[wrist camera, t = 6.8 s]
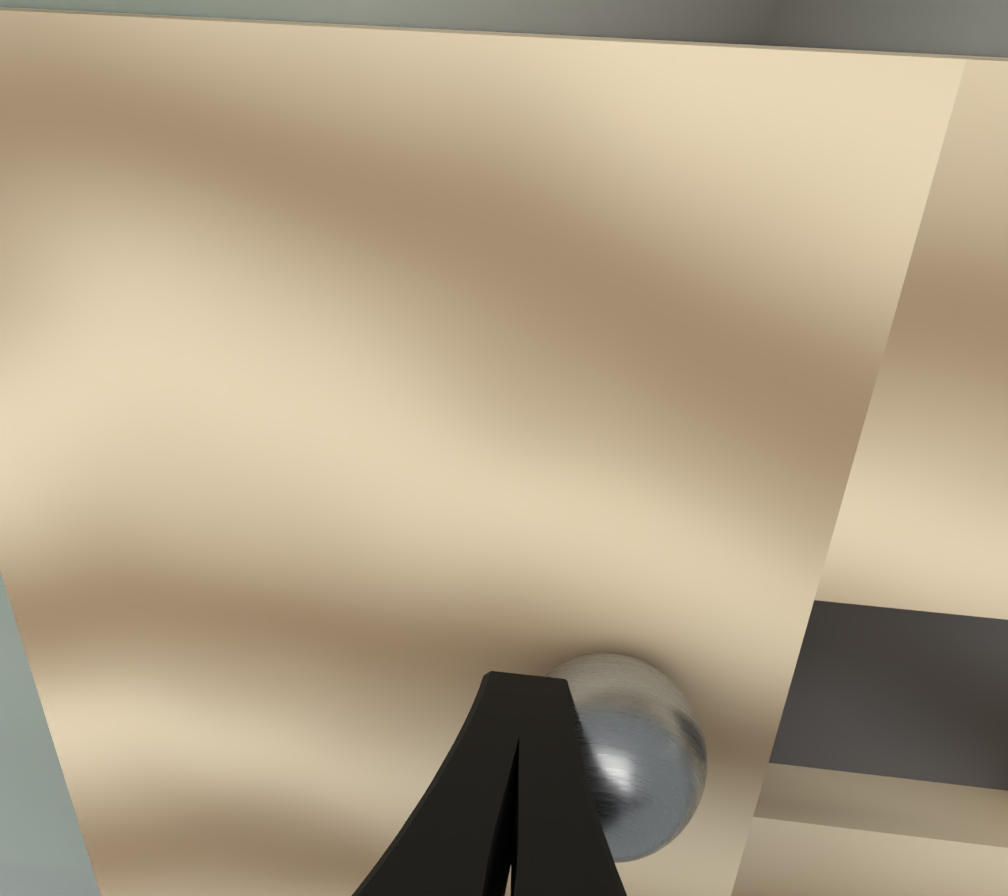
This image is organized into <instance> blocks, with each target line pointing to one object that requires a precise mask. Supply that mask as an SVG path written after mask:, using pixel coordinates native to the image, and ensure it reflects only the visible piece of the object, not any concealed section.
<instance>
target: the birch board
mask: <svg viewBox="0 0 1008 896" xmlns="http://www.w3.org/2000/svg"><path fill="white" fill-rule="evenodd" d="M0 571H1V575H2V578H3V581H4V584H5V587H6V591H7V594H8V597H9V600H10V604H11V607H12V610H13V613H14V616H15V620H16V623H17V626H18V629H19V633H20V636H21V639H22V642H23V646H24V649H25V652H26V655H27V658H28V662H29V665H30V668H31V671H32V675H33V678H34V681H35V684H36V687H37V691H38V694H39V697H40V700H41V704H42V707H43V710H44V713H45V716H46V720H47V723H48V726H49V729H50V733H51V736H52V739H53V742H54V745H55V749H56V752H57V755H58V758H59V762H60V765H61V768H62V771H63V774H64V778H65V781H66V784H67V787H68V791H69V794H70V797H71V800H72V804H73V807H74V810H75V813H76V816H77V820H78V823H79V826H80V829H81V833H82V836H83V839H84V842H85V845H86V849H87V852H88V855H89V858H90V862H91V865H92V868H93V871H94V874H95V878H96V881H97V884H98V887H99V891H100V894H101V896H352V894H353V893H354V892H355V891H356V889H357V888H358V887H359V885H360V884H361V883H362V882H363V880H364V879H365V878H366V876H367V875H368V874H369V872H370V871H371V870H372V869H373V867H374V866H375V865H376V863H377V862H378V861H379V859H380V858H381V857H382V855H383V854H384V852H385V851H386V850H387V848H388V847H389V845H390V844H391V843H392V841H393V840H394V838H395V837H396V836H397V834H398V833H399V831H400V830H401V828H402V827H403V825H404V824H405V822H406V820H407V819H408V817H409V816H410V814H411V813H412V811H413V810H414V808H415V807H416V805H417V804H418V802H419V801H420V799H421V798H422V796H423V795H424V793H425V791H426V790H427V788H428V787H429V785H430V783H431V782H432V780H433V778H434V777H435V775H436V773H437V771H438V770H439V768H440V766H441V764H442V763H443V761H444V759H445V757H446V756H447V754H448V752H449V750H450V749H451V747H452V745H453V743H454V741H455V739H456V737H457V735H458V733H459V732H460V730H461V728H462V726H463V724H464V722H465V720H466V718H467V715H468V713H469V711H470V709H471V707H472V704H473V702H474V700H475V697H476V695H477V692H478V690H479V687H480V684H481V681H482V678H483V675H485V674H487V673H488V672H490V671H498V672H507V673H516V674H525V675H534V676H544V675H545V674H546V673H547V672H549V671H550V670H551V669H553V668H554V667H556V666H558V665H560V664H561V663H563V662H565V661H567V660H570V659H572V658H575V657H579V656H583V655H587V654H593V653H615V654H621V655H626V656H630V657H633V658H636V659H638V660H641V661H643V662H646V663H648V664H650V665H652V666H653V667H655V668H656V669H658V670H659V671H661V672H662V673H663V674H665V675H666V676H667V677H669V678H670V679H671V680H672V681H673V682H674V683H675V684H676V685H677V686H678V687H679V688H680V690H681V691H682V692H683V693H684V695H685V696H686V697H687V699H688V700H689V702H690V703H691V705H692V706H693V708H694V710H695V713H696V715H697V717H698V719H699V721H700V724H701V727H702V730H703V734H704V738H705V742H706V749H707V777H706V782H705V787H704V792H703V795H702V798H701V801H700V804H699V806H698V808H697V810H696V811H695V813H694V815H693V817H692V819H691V821H690V822H689V823H688V825H687V826H686V827H685V829H684V830H683V831H682V832H681V833H680V834H679V835H678V836H677V837H676V838H675V839H674V840H673V841H672V842H671V843H669V844H668V845H667V846H665V847H664V848H662V849H661V850H659V851H657V852H656V853H654V854H652V855H649V856H647V857H644V858H641V859H638V860H635V861H630V862H623V863H615V865H616V868H617V871H618V873H619V876H620V878H621V881H622V884H623V886H624V889H625V891H626V894H627V896H1008V58H1002V57H982V56H963V55H943V54H923V53H903V52H883V51H864V50H844V49H824V48H804V47H784V46H764V45H745V44H725V43H705V42H685V41H665V40H646V39H626V38H606V37H586V36H566V35H546V34H527V33H507V32H487V31H467V30H447V29H428V28H408V27H388V26H368V25H348V24H328V23H309V22H289V21H269V20H249V19H229V18H210V17H190V16H170V15H150V14H130V13H110V12H91V11H71V10H51V9H31V8H11V7H0ZM510 894H511V867H510V872H509V877H508V882H507V887H506V892H505V896H510Z"/></svg>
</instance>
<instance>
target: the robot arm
mask: <svg viewBox="0 0 1008 896" xmlns="http://www.w3.org/2000/svg"><path fill="white" fill-rule="evenodd" d="M510 867H511V894H510V896H627V894H626V891H625V889H624V886H623V884H622V881H621V878H620V876H619V873H618V871H617V868H616V865H615V862H614V860H613V857H612V854H611V851H610V848H609V846H608V843H607V840H606V837H605V834H604V831H603V828H602V825H601V822H600V819H599V816H598V812H597V809H596V806H595V802H594V799H593V795H592V792H591V788H590V785H589V781H588V778H587V774H586V770H585V767H584V763H583V758H582V754H581V749H580V745H579V740H578V735H577V730H576V724H575V718H574V711H573V701H572V695H571V692H570V689H569V686H568V681H567V680H566V679H561V678H552V677H543V676H534V675H525V674H516V673H507V672H498V671H490V672H488V673H487V674H485V675H483V678H482V681H481V684H480V687H479V690H478V692H477V695H476V697H475V700H474V702H473V704H472V707H471V709H470V711H469V713H468V715H467V718H466V720H465V722H464V724H463V726H462V728H461V730H460V732H459V733H458V735H457V737H456V739H455V741H454V743H453V745H452V747H451V749H450V750H449V752H448V754H447V756H446V757H445V759H444V761H443V763H442V764H441V766H440V768H439V770H438V771H437V773H436V775H435V777H434V778H433V780H432V782H431V783H430V785H429V787H428V788H427V790H426V791H425V793H424V795H423V796H422V798H421V799H420V801H419V802H418V804H417V805H416V807H415V808H414V810H413V811H412V813H411V814H410V816H409V817H408V819H407V820H406V822H405V824H404V825H403V827H402V828H401V830H400V831H399V833H398V834H397V836H396V837H395V838H394V840H393V841H392V843H391V844H390V845H389V847H388V848H387V850H386V851H385V852H384V854H383V855H382V857H381V858H380V859H379V861H378V862H377V863H376V865H375V866H374V867H373V869H372V870H371V871H370V872H369V874H368V875H367V876H366V878H365V879H364V880H363V882H362V883H361V884H360V885H359V887H358V888H357V889H356V891H355V892H354V893H353V894H352V896H505V892H506V887H507V882H508V877H509V872H510Z"/></svg>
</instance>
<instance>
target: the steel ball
mask: <svg viewBox="0 0 1008 896" xmlns="http://www.w3.org/2000/svg"><path fill="white" fill-rule="evenodd" d="M543 677H552V678H561V679H566V680H567V681H568V686H569V689H570V692H571V695H572V701H573V711H574V718H575V724H576V730H577V735H578V740H579V745H580V749H581V754H582V758H583V763H584V767H585V770H586V774H587V778H588V781H589V785H590V788H591V792H592V795H593V799H594V802H595V806H596V809H597V812H598V816H599V819H600V822H601V825H602V828H603V831H604V834H605V837H606V840H607V843H608V846H609V848H610V851H611V854H612V857H613V860H614V862H615V863H623V862H630V861H635V860H638V859H641V858H644V857H647V856H649V855H652V854H654V853H656V852H657V851H659V850H661V849H662V848H664V847H665V846H667V845H668V844H669V843H671V842H672V841H673V840H674V839H675V838H676V837H677V836H678V835H679V834H680V833H681V832H682V831H683V830H684V829H685V827H686V826H687V825H688V823H689V822H690V821H691V819H692V817H693V815H694V813H695V811H696V810H697V808H698V806H699V804H700V801H701V798H702V795H703V792H704V787H705V782H706V777H707V749H706V742H705V738H704V734H703V730H702V727H701V724H700V721H699V719H698V717H697V715H696V713H695V710H694V708H693V706H692V705H691V703H690V702H689V700H688V699H687V697H686V696H685V695H684V693H683V692H682V691H681V690H680V688H679V687H678V686H677V685H676V684H675V683H674V682H673V681H672V680H671V679H670V678H669V677H667V676H666V675H665V674H663V673H662V672H661V671H659V670H658V669H656V668H655V667H653V666H652V665H650V664H648V663H646V662H643V661H641V660H638V659H636V658H633V657H630V656H626V655H621V654H615V653H593V654H587V655H583V656H579V657H575V658H572V659H570V660H567V661H565V662H563V663H561V664H560V665H558V666H556V667H554V668H553V669H551V670H550V671H549V672H547V673H546V674H545V675H544V676H543Z"/></svg>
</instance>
